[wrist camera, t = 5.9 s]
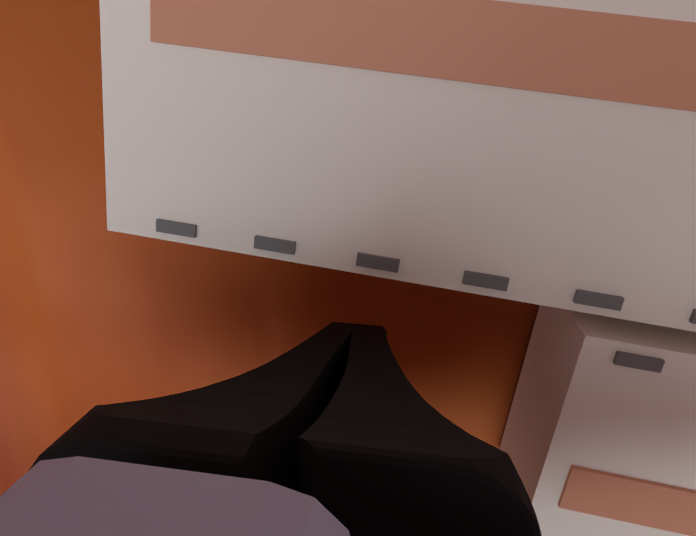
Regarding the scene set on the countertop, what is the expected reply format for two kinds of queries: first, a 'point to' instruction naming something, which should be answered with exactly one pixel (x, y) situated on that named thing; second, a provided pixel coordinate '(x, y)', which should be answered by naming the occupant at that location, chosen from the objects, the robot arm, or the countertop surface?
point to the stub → (606, 426)
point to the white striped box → (417, 141)
